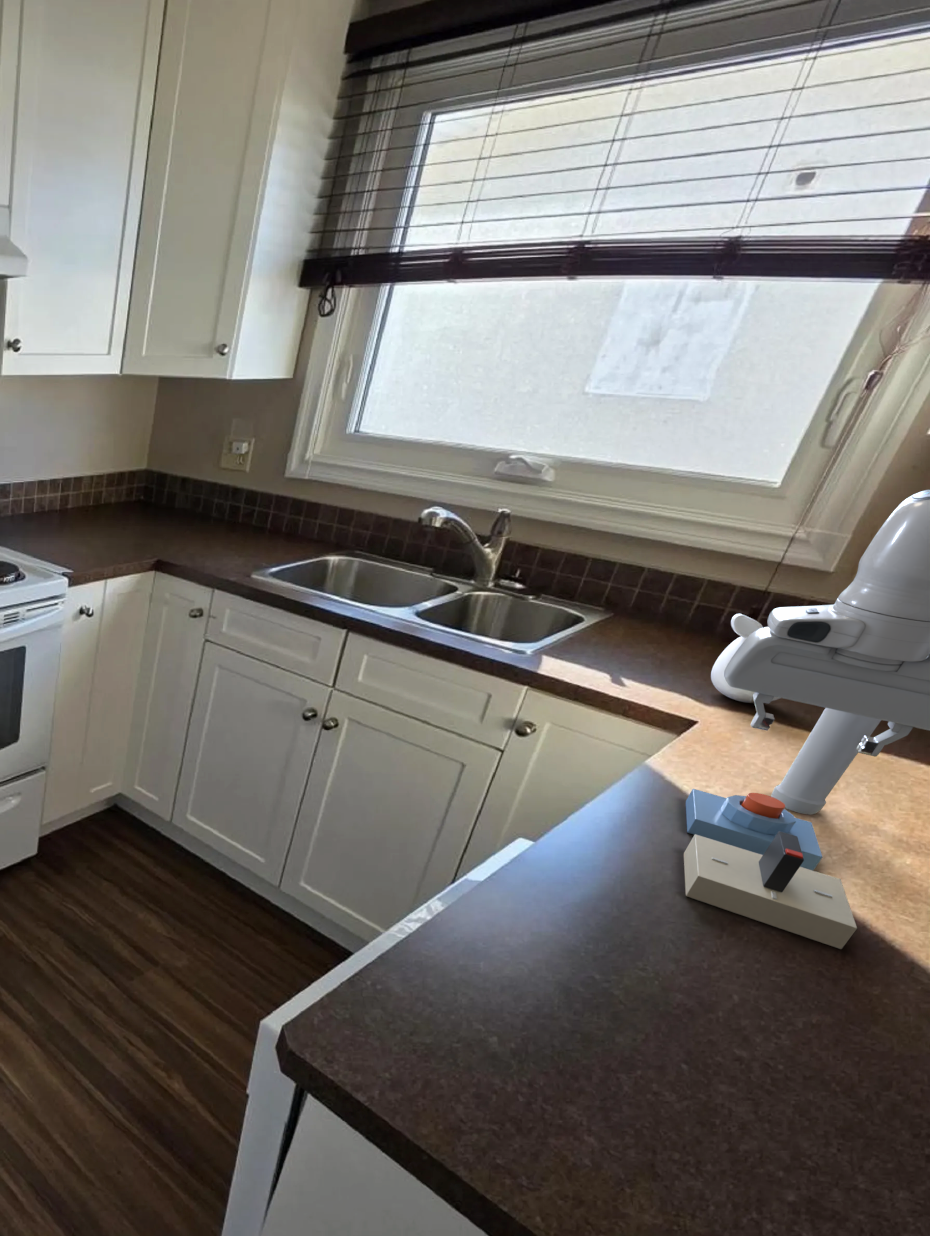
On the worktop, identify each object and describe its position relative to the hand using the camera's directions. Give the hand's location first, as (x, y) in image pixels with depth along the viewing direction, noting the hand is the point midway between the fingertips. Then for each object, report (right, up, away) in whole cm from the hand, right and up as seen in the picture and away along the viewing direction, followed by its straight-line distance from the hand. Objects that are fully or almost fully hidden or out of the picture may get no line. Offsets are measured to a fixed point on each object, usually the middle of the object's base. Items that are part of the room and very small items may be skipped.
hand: (810, 740), depth 97 cm
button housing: (0, -13, +8) cm, 15 cm away
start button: (+1, -9, +7) cm, 11 cm away
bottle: (+15, -10, +15) cm, 23 cm away
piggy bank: (+40, +6, +47) cm, 62 cm away
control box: (-10, -18, -4) cm, 21 cm away
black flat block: (-10, -16, -5) cm, 19 cm away
